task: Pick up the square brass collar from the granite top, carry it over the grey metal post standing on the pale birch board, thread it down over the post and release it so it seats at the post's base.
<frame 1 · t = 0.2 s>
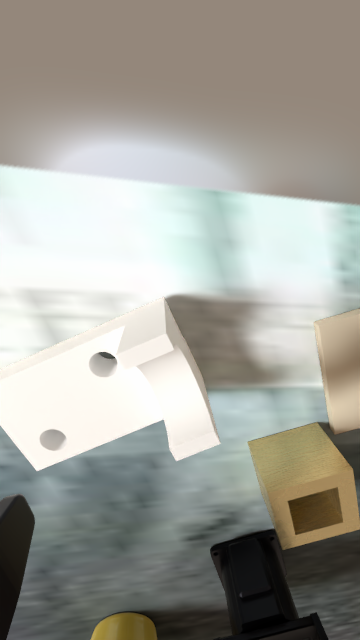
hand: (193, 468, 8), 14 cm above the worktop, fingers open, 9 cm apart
plant pot: (125, 627, 33), on the worktop
bracket: (105, 368, 23), on the worktop
brass collar: (288, 458, 26), on the worktop
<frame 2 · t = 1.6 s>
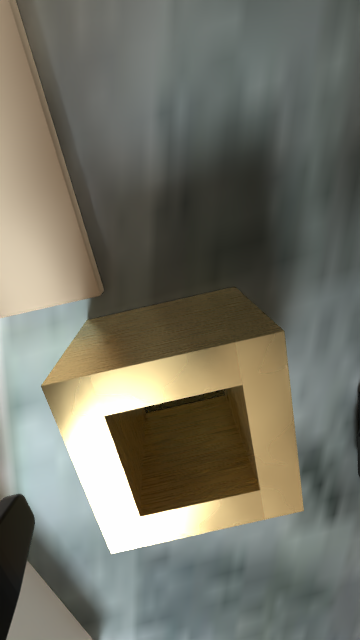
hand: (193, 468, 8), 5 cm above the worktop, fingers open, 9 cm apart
brass collar: (176, 369, 13), on the worktop
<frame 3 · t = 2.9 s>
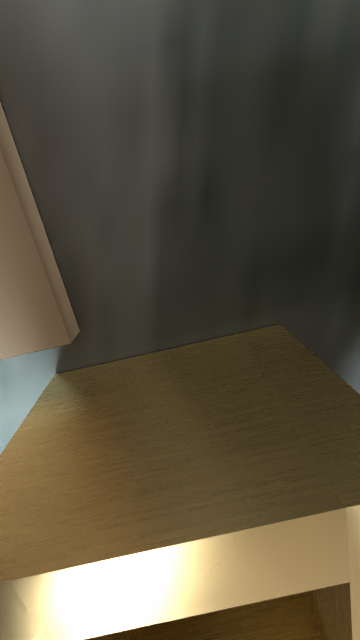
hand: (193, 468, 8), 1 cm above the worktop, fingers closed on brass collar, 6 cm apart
brass collar: (189, 441, 9), on the worktop, touching gripper
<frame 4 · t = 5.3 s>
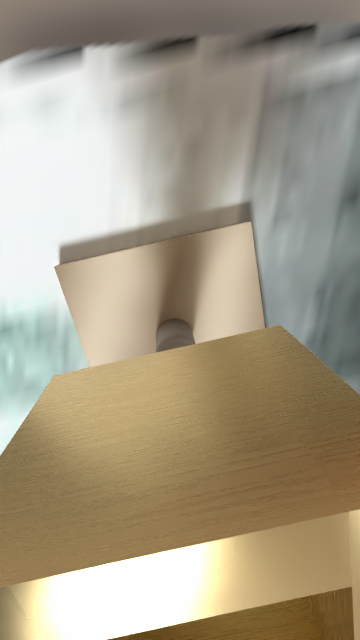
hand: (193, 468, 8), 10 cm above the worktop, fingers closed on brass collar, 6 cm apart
post board: (173, 330, 17), on the worktop
brass collar: (190, 442, 9), point 9 cm above the worktop, touching gripper
when the fingers open (3 cm above the worktop, at t = 7.6 s): brass collar drops 1 cm, resting on post board.
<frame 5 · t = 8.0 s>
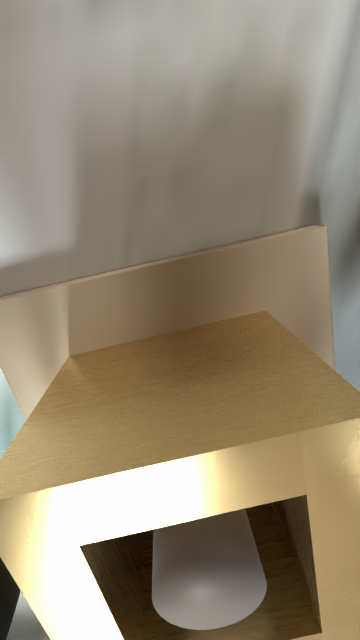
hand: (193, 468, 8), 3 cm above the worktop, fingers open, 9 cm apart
post board: (184, 401, 11), on the worktop
brass collar: (188, 415, 10), point 1 cm above the worktop, touching post board
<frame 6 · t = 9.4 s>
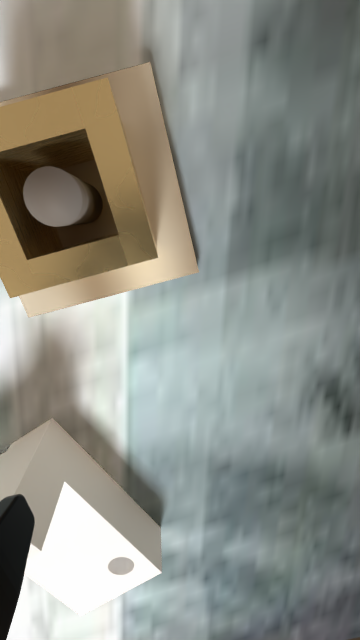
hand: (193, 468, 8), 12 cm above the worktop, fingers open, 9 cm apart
post board: (86, 204, 16), on the worktop
bracket: (74, 494, 23), on the worktop
brass collar: (84, 203, 16), point 1 cm above the worktop, touching post board
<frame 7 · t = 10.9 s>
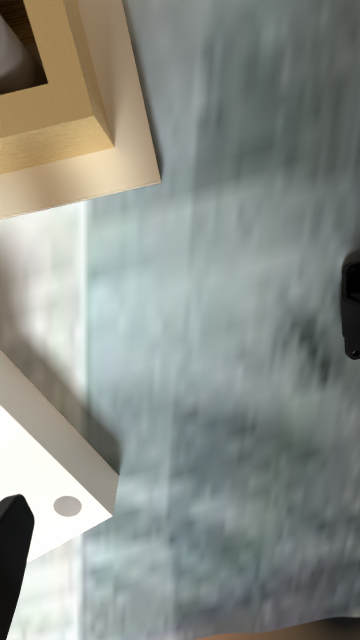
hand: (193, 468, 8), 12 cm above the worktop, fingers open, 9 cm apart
post board: (39, 98, 15), on the worktop
bracket: (25, 436, 22), on the worktop
brass collar: (34, 92, 14), point 1 cm above the worktop, touching post board
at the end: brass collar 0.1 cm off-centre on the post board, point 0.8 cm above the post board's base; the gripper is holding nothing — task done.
